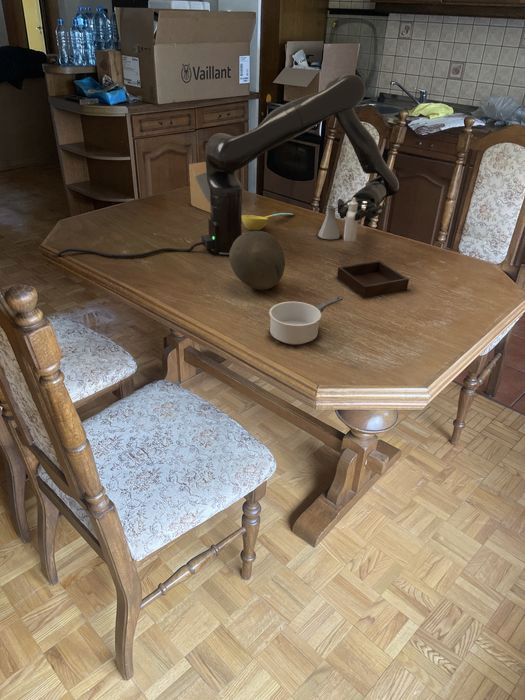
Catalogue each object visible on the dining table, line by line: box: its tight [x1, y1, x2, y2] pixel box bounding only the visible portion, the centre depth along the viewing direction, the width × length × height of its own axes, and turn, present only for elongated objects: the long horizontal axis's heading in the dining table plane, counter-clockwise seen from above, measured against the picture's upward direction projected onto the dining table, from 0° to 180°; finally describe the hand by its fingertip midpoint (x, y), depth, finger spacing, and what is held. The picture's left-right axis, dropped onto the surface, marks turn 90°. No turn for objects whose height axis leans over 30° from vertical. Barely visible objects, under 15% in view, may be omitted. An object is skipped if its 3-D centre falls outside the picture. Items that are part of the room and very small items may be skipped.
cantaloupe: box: [228, 230, 286, 291], centre depth 138 cm, size 14×14×15 cm
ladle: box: [242, 212, 294, 231], centre depth 186 cm, size 9×26×6 cm, turn 142°
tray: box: [336, 260, 410, 299], centre depth 145 cm, size 14×14×3 cm
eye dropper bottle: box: [343, 198, 359, 243], centre depth 152 cm, size 4×6×12 cm
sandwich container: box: [188, 161, 210, 213], centre depth 197 cm, size 9×15×15 cm, turn 42°
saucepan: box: [268, 296, 344, 345], centre depth 122 cm, size 12×20×6 cm, turn 127°
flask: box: [317, 204, 341, 240], centre depth 175 cm, size 7×7×10 cm
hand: (349, 216), depth 149 cm, fingers closed on eye dropper bottle, 3 cm apart
